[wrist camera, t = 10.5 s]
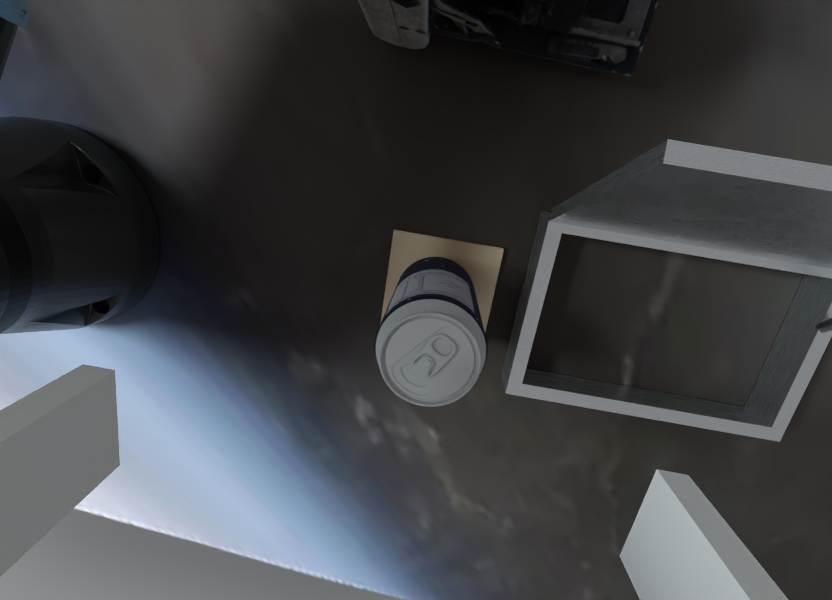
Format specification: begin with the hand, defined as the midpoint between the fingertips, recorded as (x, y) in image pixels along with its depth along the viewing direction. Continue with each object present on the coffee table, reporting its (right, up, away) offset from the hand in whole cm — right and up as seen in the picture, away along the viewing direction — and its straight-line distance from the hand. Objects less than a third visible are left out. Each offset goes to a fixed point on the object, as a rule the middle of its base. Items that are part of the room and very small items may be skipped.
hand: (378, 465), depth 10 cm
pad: (+3, +5, +21) cm, 22 cm away
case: (+19, +4, +21) cm, 28 cm away
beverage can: (+2, +5, +21) cm, 22 cm away
